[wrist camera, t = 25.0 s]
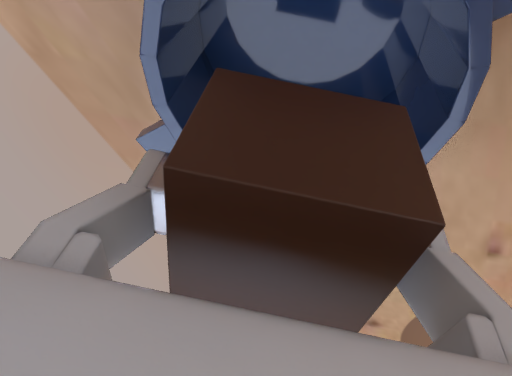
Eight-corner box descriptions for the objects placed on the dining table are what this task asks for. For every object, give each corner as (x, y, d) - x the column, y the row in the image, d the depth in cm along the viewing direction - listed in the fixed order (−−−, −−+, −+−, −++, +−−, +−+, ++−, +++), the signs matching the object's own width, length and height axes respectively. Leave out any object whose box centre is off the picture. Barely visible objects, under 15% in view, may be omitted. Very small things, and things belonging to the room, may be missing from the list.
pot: (520, 58, 20) (592, 129, 15) (238, 168, 29) (218, 238, 24) (473, -298, 12) (585, -423, 7) (110, 3, 21) (36, 50, 16)
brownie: (406, 105, 10) (447, 225, 6) (344, 228, 14) (350, 342, 10) (216, 66, 10) (162, 166, 7) (207, 199, 14) (170, 304, 10)
